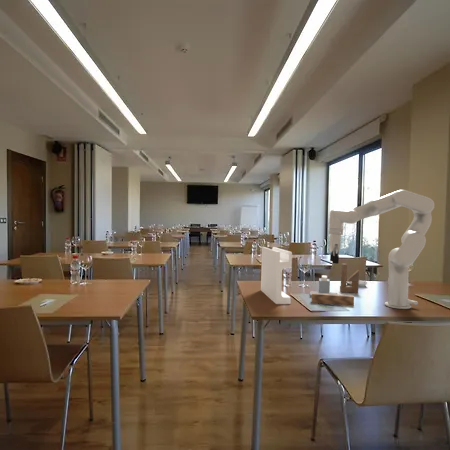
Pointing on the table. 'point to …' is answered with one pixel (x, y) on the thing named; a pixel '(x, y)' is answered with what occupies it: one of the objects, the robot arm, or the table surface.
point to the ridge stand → (323, 286)
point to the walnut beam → (333, 299)
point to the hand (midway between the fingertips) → (334, 262)
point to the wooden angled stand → (352, 278)
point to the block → (274, 273)
